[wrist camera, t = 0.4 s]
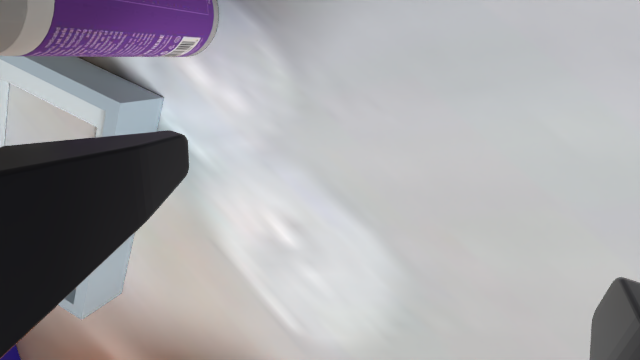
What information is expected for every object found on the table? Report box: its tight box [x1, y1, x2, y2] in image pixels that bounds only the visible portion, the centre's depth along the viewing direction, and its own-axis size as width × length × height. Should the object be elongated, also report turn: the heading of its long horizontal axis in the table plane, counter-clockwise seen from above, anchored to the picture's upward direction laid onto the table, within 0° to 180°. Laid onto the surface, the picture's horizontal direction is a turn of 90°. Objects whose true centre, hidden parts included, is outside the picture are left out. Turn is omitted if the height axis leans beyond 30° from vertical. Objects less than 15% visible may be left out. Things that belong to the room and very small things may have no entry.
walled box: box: [0, 56, 164, 320], centre depth 29 cm, size 15×15×4 cm
